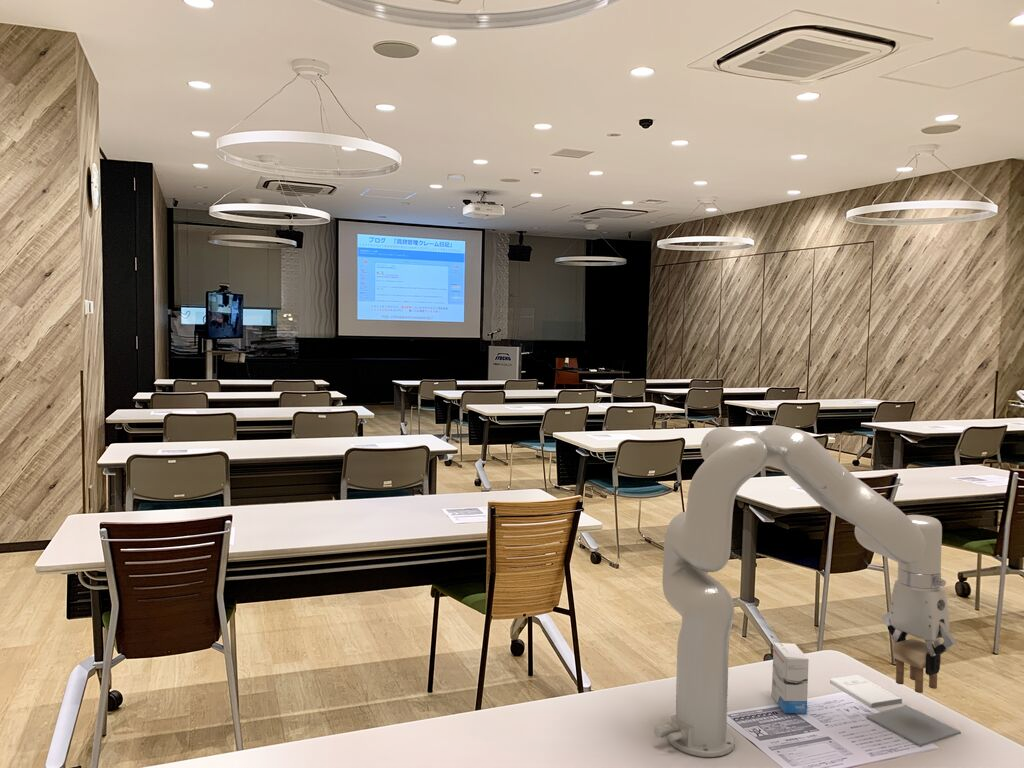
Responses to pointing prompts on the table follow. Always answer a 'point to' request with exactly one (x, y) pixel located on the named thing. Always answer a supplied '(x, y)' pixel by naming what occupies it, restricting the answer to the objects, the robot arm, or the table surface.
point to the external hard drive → (865, 691)
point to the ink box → (790, 678)
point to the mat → (913, 725)
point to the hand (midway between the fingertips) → (916, 666)
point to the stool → (913, 662)
